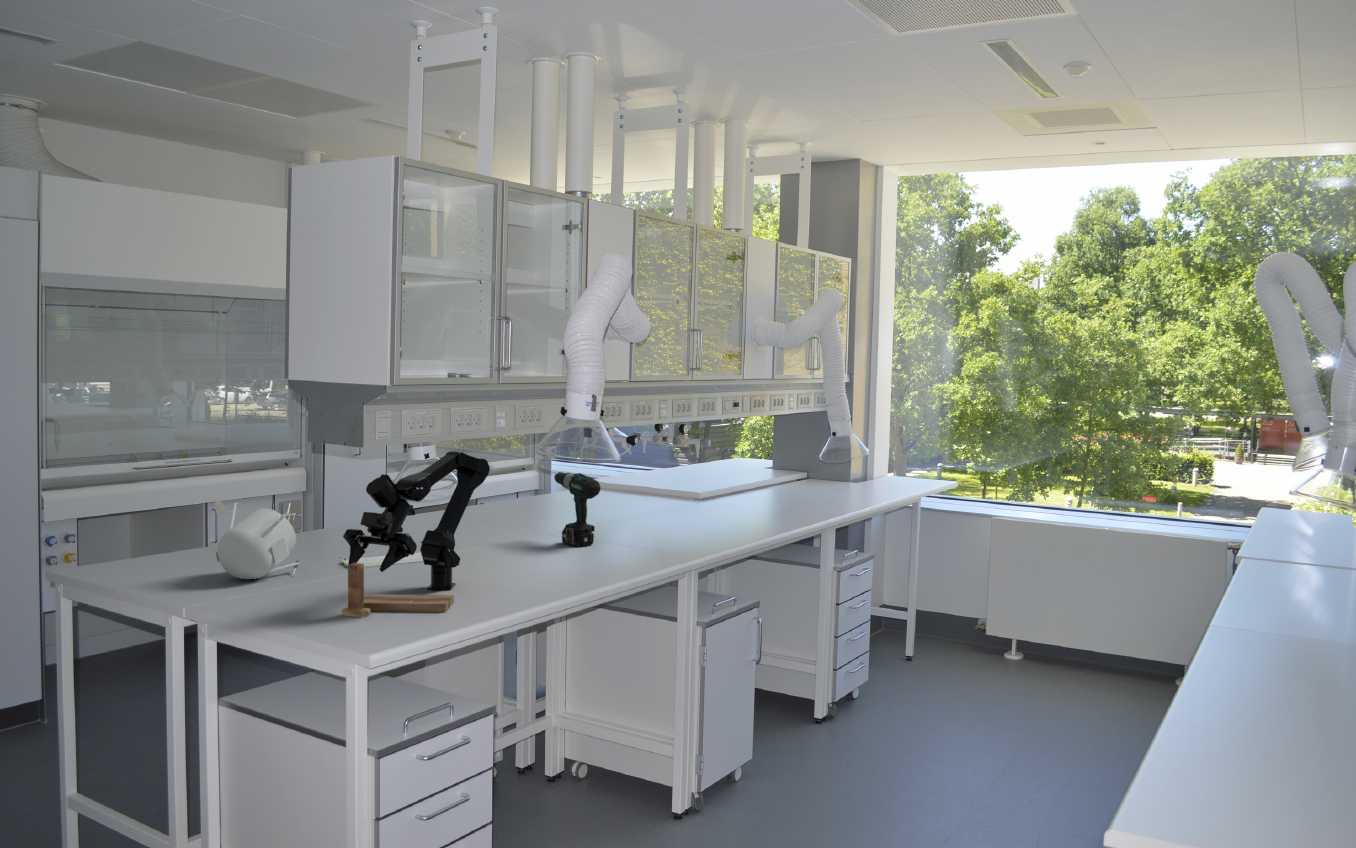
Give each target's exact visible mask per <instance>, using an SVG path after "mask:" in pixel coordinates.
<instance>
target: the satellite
mask: <svg viewBox="0 0 1356 848" xmlns="http://www.w3.org/2000/svg"><path fill="white" fill-rule="evenodd" d="M291 504H292V503H291V502H289V503H288V507H287V511H285V512H284V513H283V514H281V513H279V512H278V511H277V510H274V509H270V508H267V507H259V508H257V509H255V510H253V511H251V512H250V513H249V514H248V515H246V516H245V517H243V518H242V519H241V520H240V521H239V522H237V523H236V524H235V525H234V521H235V517H236V511H237V505H240V502H236V501H234V502H233V503H231V504H227V505H225V504H224V503H223V501H222V500H216V501H215V503H214V510H215V512H216V514H218V515H223V514H225V511H226V508H227V507H230V506H232V508H231V513H230V519H229V523H228V524H229V525H228V529H227V531H226V532H225V533H224V534H223V535H222V536H221V537H220V539H219V541H218V544H217V548H216V551H215V555H216V561H217V562H218V563H219V564H220V566H221V567H222V569H224V571H225V572H226V573H228V574H229V575H230V576H232V577H233V578H236V579H238V578H241V579H240V580H242V579H255V580H257V579H256V578H258V579H261V578H262V577H264V576H266V575H268V574H272V573H275V572H278V571H282V570H286V569H290V568H293V571H292V575H293V574H294V575H295V572H296V569H298V567H299V565H300V560H295V562H293V563H289V564H286V565H283V566H279V567H276V566H277V565H278V564H279V563H281V562H283V560H285V559H286V558H288V556H289V555H290V553H291V552H292V551H293V550H294V549H295V548H296V545H297V544H296V543H297V534H296V531H295V529H294V527H293V526H292V524H291V523H290V521H289V520H290V517H291V516H293V519H292V520H293V521H295V520H294V519H295V515H296V514H297V513H290V512H291V511H290V507H291ZM287 516H288V519H287V518H286V517H287ZM274 567H275V568H274Z"/></svg>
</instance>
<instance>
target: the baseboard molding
mask: <svg viewBox="0 0 1356 848" xmlns="http://www.w3.org/2000/svg"><path fill="white" fill-rule="evenodd" d="M385 556H386V555H380V556H379V555H378V556H367V557H361V558H360V559H359V561H358V562H357V563H363V564H364V567H366V568H375V567H374V566H376V567H381V564H382V562H383V560H384V558H385ZM339 559H340V561H339V563H340V562H342V563H343V564H344V565H346V566H347V567H348V563H349V558H345V557H344V558H342V557H341V556H340V558H339ZM404 563H406V564H415V563H424V561H423V558H422V555H421V552H415V553H414V555H409V556H408V557H404V558H403V559H401V560H399V561H398V562H396V563H394V564H393V565H404ZM343 564H342V565H343ZM344 565H343V566H344ZM393 565H392V566H393ZM346 566H345V567H346ZM347 567H346V568H347Z"/></svg>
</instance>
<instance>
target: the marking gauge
mask: <svg viewBox="0 0 1356 848" xmlns="http://www.w3.org/2000/svg"><path fill="white" fill-rule="evenodd" d="M347 591H348V592H347V607H344V608H341V616H346V617H355V618H356V617H357V618H362V619H363V618H365V617H368V616H370V615H371V611H370V609H369V608H364V597H365V568H364V564H363V563H352V564H349V565H348V568H347Z"/></svg>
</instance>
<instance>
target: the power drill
mask: <svg viewBox="0 0 1356 848" xmlns="http://www.w3.org/2000/svg"><path fill="white" fill-rule="evenodd" d="M553 478H554V481H555V483H556V484H559V485H561V486H562V487H563V488H564V489H567V490H568V491H569V494H571V495H573V502H574V509H575V515H576V516H575V517H576V521H575V522H570V523H567V524H565V526H564V528H563V530H562V531H561V542H562V543H563V544H565V545H567V544H568V545H567V546H571V547H576V546H580V547H585V546H586V547H587V546H591V545H593V544H594V541H595V540H594V539H595V538H596V536H595V535H594V532H595V530H596V529H595V525H592V524H589V523H588V522H587V518H588V505H587V502H588V499H589V500H591V499H594V498H595V497H597V496H598V495H599V494H600V492H601V485H600V482H599V481H598V480H596V479H594V478H593V477H591V476H589V475H586V474H583V473H581V472H578V473H573V472H563V471H559V472H557V473H555V474H554V477H553Z"/></svg>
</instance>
